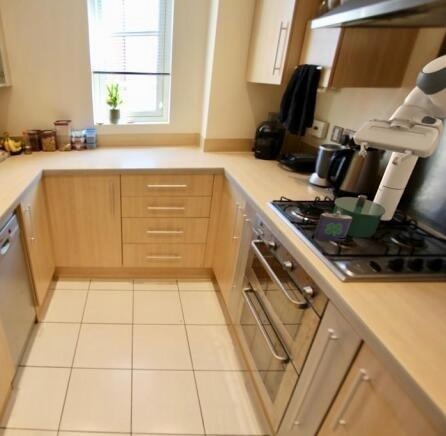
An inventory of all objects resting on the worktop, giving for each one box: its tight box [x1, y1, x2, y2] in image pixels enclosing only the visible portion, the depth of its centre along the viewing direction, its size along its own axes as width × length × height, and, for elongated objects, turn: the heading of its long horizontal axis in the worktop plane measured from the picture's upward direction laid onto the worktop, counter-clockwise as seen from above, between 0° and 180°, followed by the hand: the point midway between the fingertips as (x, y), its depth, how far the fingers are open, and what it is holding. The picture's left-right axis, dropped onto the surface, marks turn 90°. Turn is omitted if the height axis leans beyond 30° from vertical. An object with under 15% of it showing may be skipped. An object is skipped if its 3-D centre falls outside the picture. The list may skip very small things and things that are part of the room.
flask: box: [313, 211, 352, 243], centre depth 106 cm, size 9×3×11 cm, turn 75°
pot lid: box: [334, 194, 385, 216], centre depth 110 cm, size 15×15×5 cm
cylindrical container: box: [372, 151, 419, 221], centre depth 116 cm, size 7×7×25 cm
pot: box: [331, 203, 382, 238], centre depth 113 cm, size 14×19×8 cm
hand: (377, 159), depth 96 cm, fingers open, 8 cm apart
